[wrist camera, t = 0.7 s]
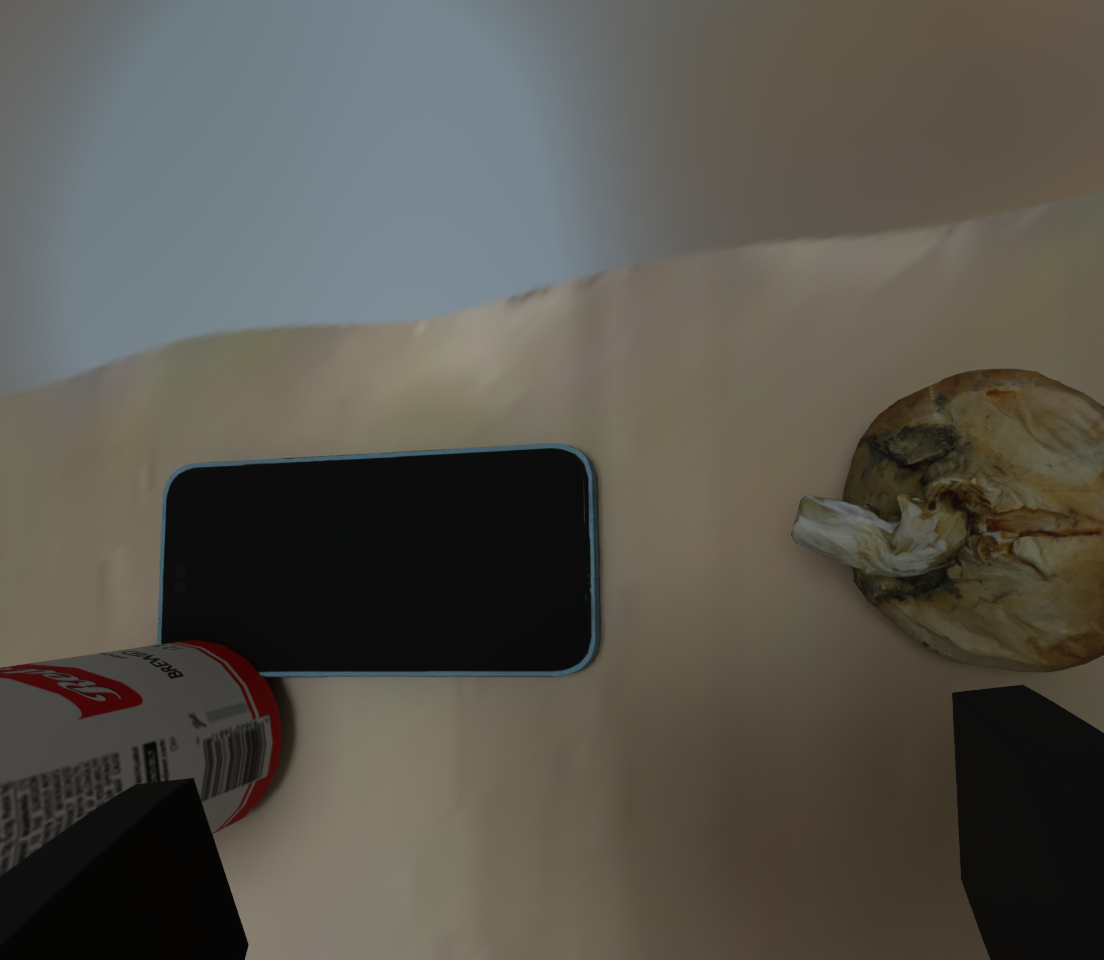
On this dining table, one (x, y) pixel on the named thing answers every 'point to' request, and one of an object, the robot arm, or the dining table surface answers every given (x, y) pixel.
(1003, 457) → the onion
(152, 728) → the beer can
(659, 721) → the dining table surface
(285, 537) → the smartphone
